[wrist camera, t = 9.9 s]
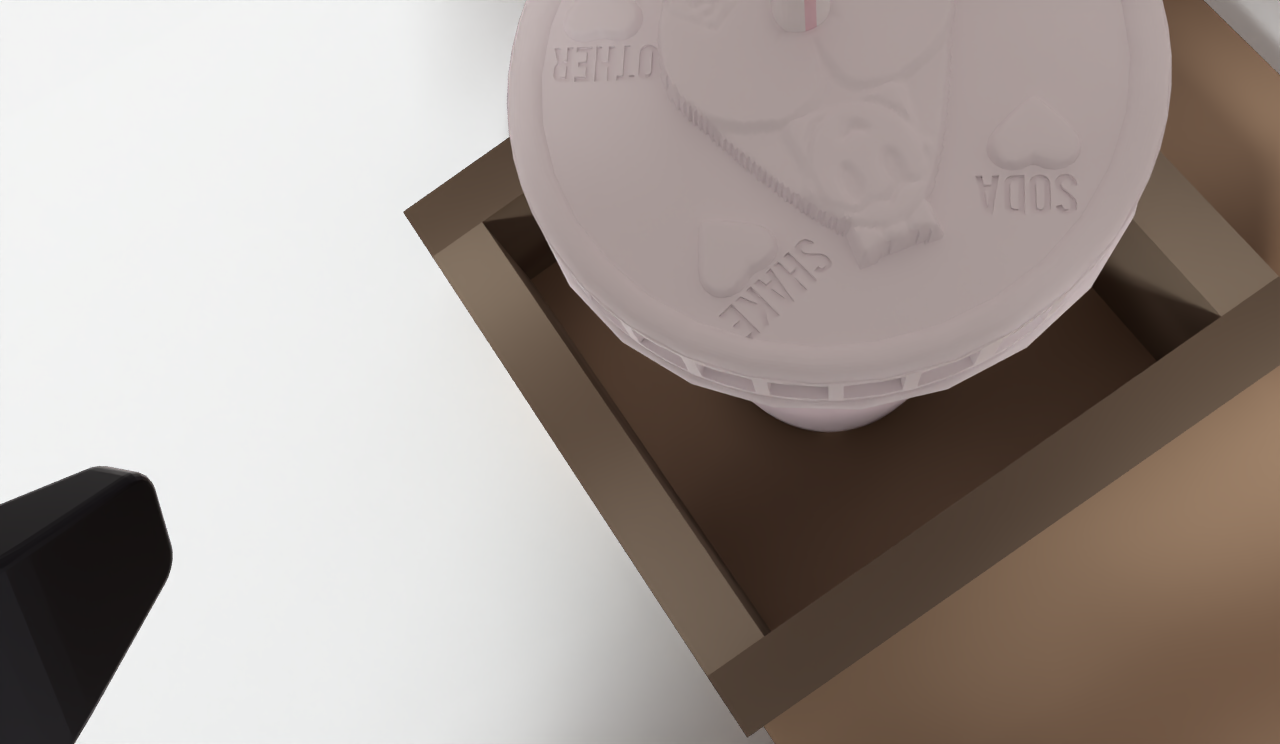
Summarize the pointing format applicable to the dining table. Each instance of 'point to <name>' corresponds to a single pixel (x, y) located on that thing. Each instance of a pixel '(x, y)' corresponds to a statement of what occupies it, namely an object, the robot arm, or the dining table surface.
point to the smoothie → (835, 180)
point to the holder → (961, 473)
